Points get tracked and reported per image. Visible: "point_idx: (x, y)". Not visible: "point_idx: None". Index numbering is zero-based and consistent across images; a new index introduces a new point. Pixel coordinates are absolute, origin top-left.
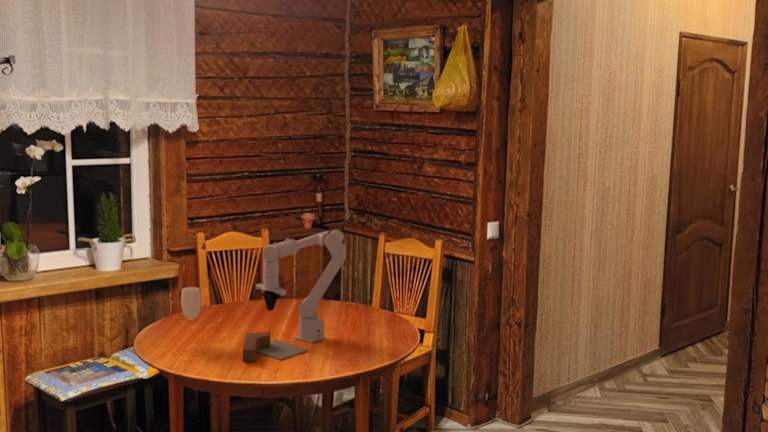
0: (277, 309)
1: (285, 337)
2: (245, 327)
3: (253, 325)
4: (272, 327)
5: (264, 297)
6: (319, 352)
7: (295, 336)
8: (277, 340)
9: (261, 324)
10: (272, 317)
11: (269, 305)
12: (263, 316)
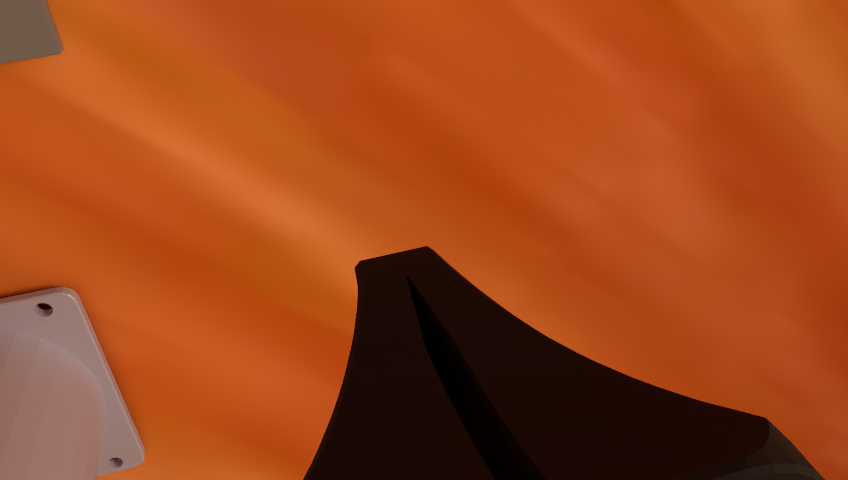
0: (840, 477)
1: (161, 217)
2: (771, 45)
3: (746, 151)
4: (557, 268)
5: (603, 402)
6: None
7: (66, 306)
8: (25, 45)
9: (704, 229)
10: (755, 384)
11: (359, 327)
12: (830, 341)
